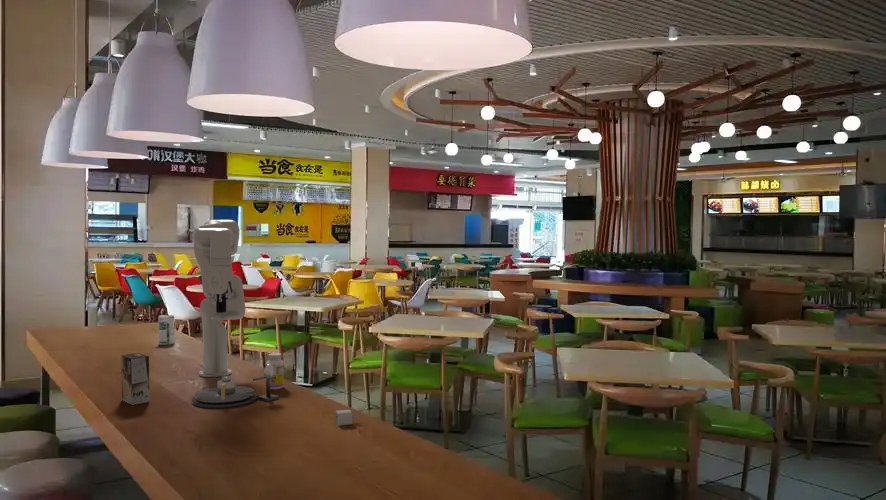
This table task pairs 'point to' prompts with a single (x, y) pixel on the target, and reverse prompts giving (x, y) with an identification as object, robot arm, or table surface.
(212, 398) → the platter
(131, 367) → the coffee box
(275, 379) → the supplement bottle
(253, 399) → the turntable base
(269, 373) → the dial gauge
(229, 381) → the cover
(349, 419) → the usb wall charger
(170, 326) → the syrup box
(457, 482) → the table surface
